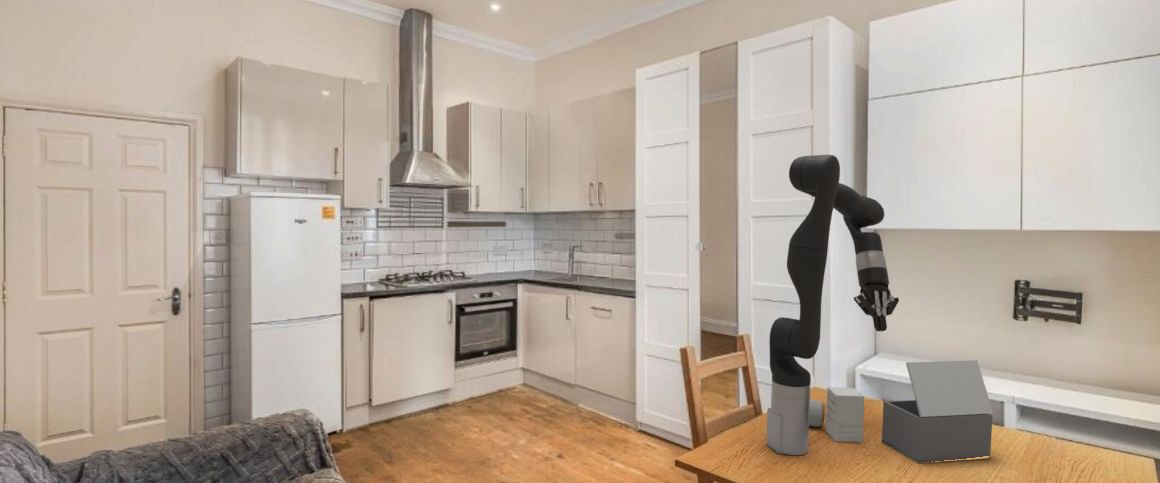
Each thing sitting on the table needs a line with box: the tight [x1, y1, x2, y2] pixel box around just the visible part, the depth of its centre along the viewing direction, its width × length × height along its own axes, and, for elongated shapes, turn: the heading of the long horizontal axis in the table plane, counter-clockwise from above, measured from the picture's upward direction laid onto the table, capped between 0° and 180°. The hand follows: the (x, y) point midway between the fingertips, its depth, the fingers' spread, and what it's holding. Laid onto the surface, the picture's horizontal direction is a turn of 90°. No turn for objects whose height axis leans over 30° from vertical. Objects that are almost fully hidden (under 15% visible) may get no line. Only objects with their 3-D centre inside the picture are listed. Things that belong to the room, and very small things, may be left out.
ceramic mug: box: [809, 399, 826, 428], centre depth 163 cm, size 11×8×8 cm
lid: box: [905, 359, 994, 417], centre depth 141 cm, size 20×13×1 cm
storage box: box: [881, 399, 993, 464], centre depth 145 cm, size 20×13×11 cm, turn 100°
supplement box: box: [825, 386, 865, 443], centre depth 153 cm, size 7×7×13 cm
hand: (881, 330), depth 154 cm, fingers closed
